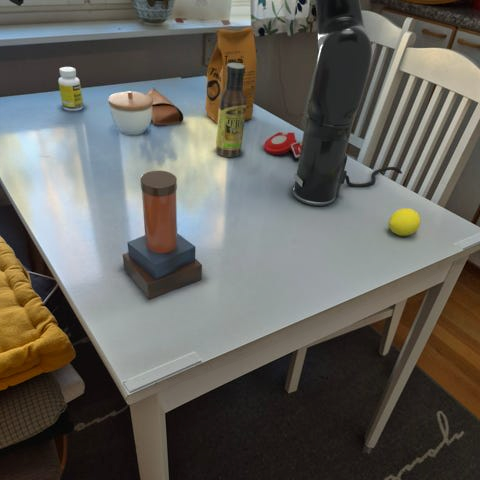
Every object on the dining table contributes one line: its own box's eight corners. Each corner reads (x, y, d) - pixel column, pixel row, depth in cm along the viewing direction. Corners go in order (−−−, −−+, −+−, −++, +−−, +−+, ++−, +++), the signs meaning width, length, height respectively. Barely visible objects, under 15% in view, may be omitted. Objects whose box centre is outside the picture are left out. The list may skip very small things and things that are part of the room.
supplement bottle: (78, 112, 126) (72, 73, 119) (59, 109, 127) (52, 70, 120) (86, 106, 130) (81, 67, 123) (68, 103, 131) (62, 64, 124)
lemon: (392, 242, 93) (401, 219, 89) (379, 227, 96) (386, 204, 92) (422, 238, 94) (432, 215, 91) (408, 224, 98) (416, 201, 94)
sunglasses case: (128, 101, 134) (138, 78, 131) (149, 111, 139) (159, 90, 136) (155, 125, 123) (166, 101, 121) (176, 135, 128) (187, 112, 126)
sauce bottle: (223, 160, 113) (229, 70, 99) (211, 150, 116) (214, 61, 102) (246, 156, 115) (254, 68, 101) (233, 146, 119) (239, 59, 105)
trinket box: (103, 133, 118) (99, 94, 112) (123, 119, 126) (120, 81, 119) (142, 142, 116) (140, 102, 110) (160, 126, 124) (159, 89, 117)
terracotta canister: (167, 232, 78) (165, 167, 70) (183, 248, 75) (183, 182, 67) (139, 240, 76) (134, 175, 68) (154, 257, 73) (150, 191, 65)
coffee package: (200, 113, 133) (202, 24, 117) (238, 108, 138) (244, 22, 123) (218, 127, 127) (222, 34, 112) (256, 121, 132) (265, 32, 117)
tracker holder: (257, 148, 116) (272, 125, 121) (260, 163, 120) (275, 141, 125) (302, 149, 111) (316, 126, 116) (305, 166, 114) (318, 142, 119)
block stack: (175, 252, 85) (174, 222, 80) (201, 279, 80) (202, 249, 75) (124, 269, 80) (120, 238, 76) (148, 299, 75) (146, 268, 71)
